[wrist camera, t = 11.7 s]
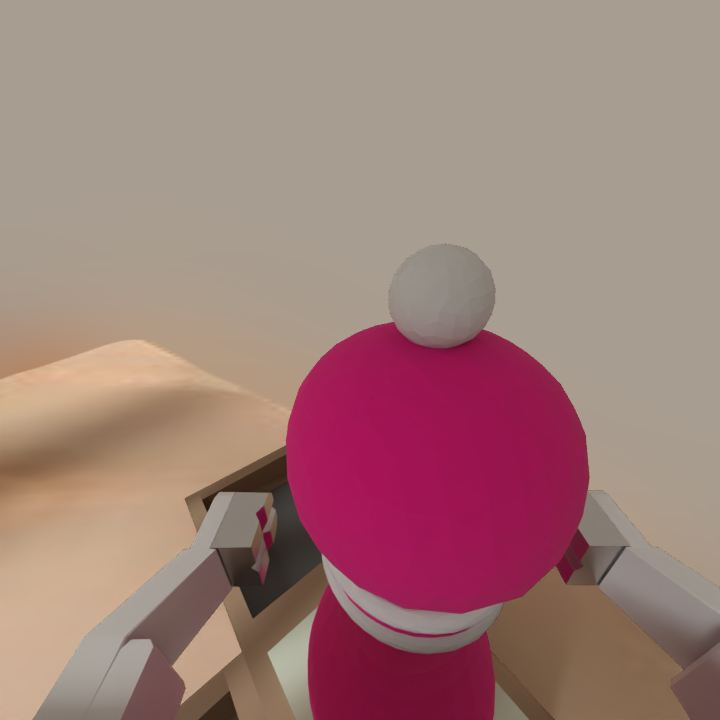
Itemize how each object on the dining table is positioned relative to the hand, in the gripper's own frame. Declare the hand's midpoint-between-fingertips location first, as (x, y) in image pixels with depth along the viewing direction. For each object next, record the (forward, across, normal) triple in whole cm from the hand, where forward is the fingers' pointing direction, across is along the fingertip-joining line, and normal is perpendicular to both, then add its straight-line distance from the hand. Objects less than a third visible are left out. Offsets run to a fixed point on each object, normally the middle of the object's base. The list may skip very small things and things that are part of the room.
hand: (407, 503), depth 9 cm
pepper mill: (-1, 0, +13) cm, 13 cm away
